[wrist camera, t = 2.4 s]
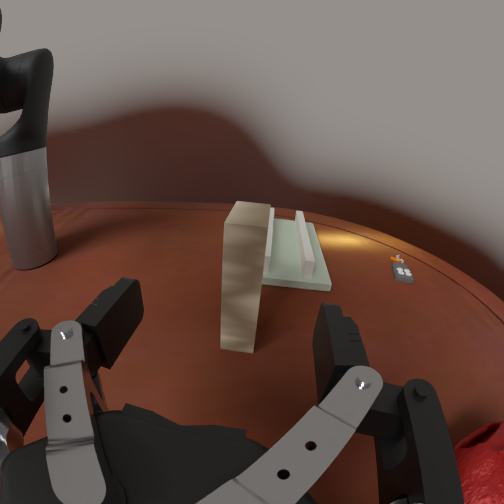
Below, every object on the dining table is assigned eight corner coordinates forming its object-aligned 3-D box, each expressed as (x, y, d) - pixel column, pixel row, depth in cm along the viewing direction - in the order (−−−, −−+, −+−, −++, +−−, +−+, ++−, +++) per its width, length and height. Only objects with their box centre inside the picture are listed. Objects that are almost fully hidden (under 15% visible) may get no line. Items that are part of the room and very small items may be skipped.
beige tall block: (220, 348, 24) (224, 222, 19) (230, 310, 29) (237, 201, 24) (253, 353, 24) (267, 227, 19) (258, 313, 29) (270, 204, 24)
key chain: (414, 286, 38) (417, 278, 37) (394, 282, 39) (397, 274, 38) (399, 254, 49) (401, 247, 48) (382, 250, 50) (384, 243, 49)
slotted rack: (330, 291, 34) (336, 267, 33) (237, 281, 35) (238, 256, 34) (311, 227, 56) (314, 211, 55) (254, 221, 57) (255, 204, 55)
